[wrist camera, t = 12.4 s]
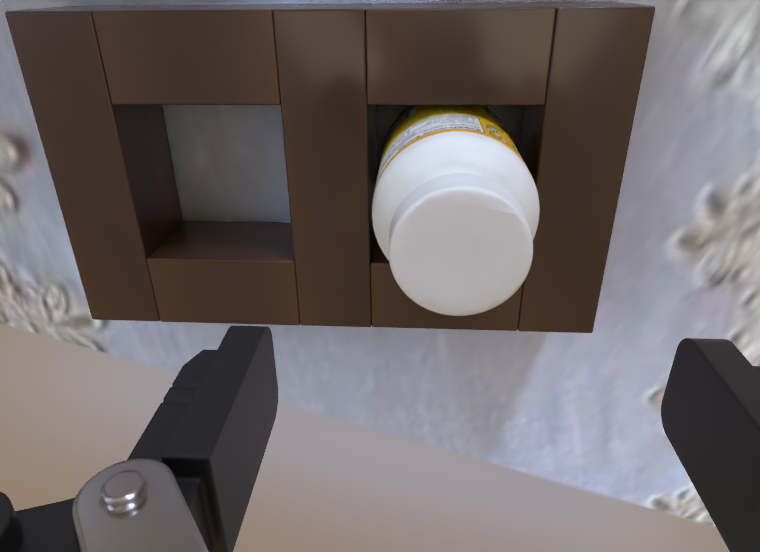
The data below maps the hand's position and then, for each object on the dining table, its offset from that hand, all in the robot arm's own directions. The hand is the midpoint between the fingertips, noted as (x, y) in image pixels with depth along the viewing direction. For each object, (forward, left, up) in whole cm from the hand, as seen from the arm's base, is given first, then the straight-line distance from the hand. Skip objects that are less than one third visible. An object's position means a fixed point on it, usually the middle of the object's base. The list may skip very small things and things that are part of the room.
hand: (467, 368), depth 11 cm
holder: (-4, 0, -15) cm, 15 cm away
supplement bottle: (0, 0, -15) cm, 15 cm away
